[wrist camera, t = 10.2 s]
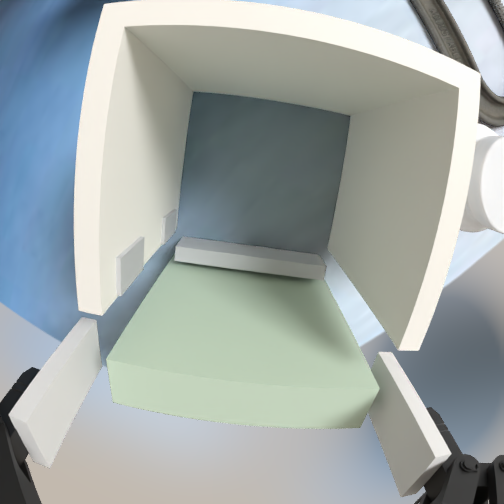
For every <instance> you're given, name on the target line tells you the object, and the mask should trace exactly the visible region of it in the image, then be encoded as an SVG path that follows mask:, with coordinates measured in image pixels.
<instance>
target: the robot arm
mask: <svg viewBox="0 0 504 504" xmlns="http://www.w3.org/2000/svg"><path fill="white" fill-rule="evenodd" d="M101 368H102V361H101V354H100V347H99V339H98V330H97V321H96V320H94V319H89V318H85V317H82V318H81V319H80V320H79V321H78V322H77V324H76V325H75V326H74V327H73V329H72V330H71V331H70V332H69V334H68V335H67V336H66V337H65V339H64V340H63V341H62V342H61V344H60V345H59V346H58V348H57V349H56V350H55V352H54V353H53V354H52V355H51V357H50V358H49V359H48V361H47V362H46V363H45V364H44V366H43V367H42V368H41V370H39V369H36V368H33V367H32V368H30V369H29V370H27V371H25V372H24V373H22V375H21V376H20V377H19V379H18V380H17V382H16V383H15V384H14V385H13V387H12V389H10V391H9V392H8V393H7V394H6V396H5V397H4V398H3V400H2V401H1V402H0V504H42V503H41V501H40V498H39V496H38V493H37V491H36V488H35V485H34V482H33V480H32V477H31V474H30V471H29V468H28V465H27V462H26V461H25V459H26V457H27V455H28V453H29V455H30V457H31V458H32V460H33V462H36V463H38V464H40V465H43V466H45V467H47V468H50V467H51V465H52V463H53V461H54V459H55V457H56V454H57V452H58V451H59V448H60V446H61V444H62V442H63V440H64V438H65V436H66V434H67V432H68V430H69V428H70V426H71V424H72V422H73V420H74V418H75V416H76V414H77V412H78V411H79V409H80V407H81V405H82V403H83V401H84V399H85V397H86V395H87V393H88V392H89V390H90V388H91V386H92V384H93V382H94V380H95V379H96V377H97V375H98V373H99V371H100V370H101ZM371 372H372V374H373V376H374V378H375V380H376V382H377V384H378V386H379V388H380V389H379V391H378V393H377V395H376V397H375V399H374V401H373V403H372V405H371V407H370V409H369V411H368V414H369V416H370V419H371V421H372V424H373V426H374V428H375V431H376V433H377V436H378V439H379V441H380V444H381V446H382V449H383V451H384V454H385V456H386V459H387V462H388V464H389V467H390V470H391V472H392V475H393V477H394V480H395V483H396V486H397V488H398V491H399V493H400V496H401V497H404V496H408V495H412V494H416V493H417V492H418V491H419V490H420V489H421V488H422V487H423V486H424V487H425V490H426V492H425V493H424V494H423V495H422V496H421V497H420V498H419V499H418V500H417V501H416V502H415V503H414V504H418V503H419V502H420V503H419V504H488V500H489V504H504V455H499V456H498V457H497V458H495V460H494V461H493V462H492V463H478V461H477V460H476V459H475V458H474V457H472V456H471V455H466V454H462V452H461V451H460V449H459V447H458V445H457V444H456V442H455V440H454V439H453V437H452V435H451V433H450V432H449V431H448V428H447V427H446V425H445V424H444V422H443V420H442V418H441V417H440V415H439V414H438V413H437V412H436V411H435V410H433V409H432V408H431V407H429V408H425V406H424V405H423V403H422V401H421V399H420V398H419V396H418V394H417V393H416V391H415V389H414V388H413V386H412V384H411V383H410V381H409V379H408V378H407V376H406V374H405V373H404V371H403V370H402V368H401V366H400V365H399V363H398V361H397V360H396V358H395V357H394V355H393V354H392V352H378V354H377V356H376V359H375V361H374V364H373V366H372V369H371Z"/></svg>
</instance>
